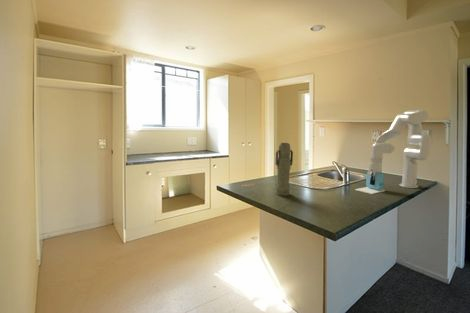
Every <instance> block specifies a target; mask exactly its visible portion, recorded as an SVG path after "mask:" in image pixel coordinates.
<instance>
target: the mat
mask: <svg viewBox="0 0 470 313" xmlns="http://www.w3.org/2000/svg"><path fill="white" fill-rule="evenodd" d="M354 191H357V192H361V193H366V194H369V195H375V194H379V193H384V192H386V190H385V189H381V190H376V189H373V188H370V187H367V186H364V187H359V188H354Z"/></svg>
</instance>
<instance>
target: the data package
mask: <svg viewBox="0 0 470 313" xmlns="http://www.w3.org/2000/svg"><path fill="white" fill-rule="evenodd" d="M373 177H374V176H373ZM365 180H366V181H365V187H370V188H373V189H376V190H381V189H382V190H384V185H385V184H384V182H385V173H376V176H375V179H374V180H375V185H370V177H369V170H368V171H367V172H366V179H365Z"/></svg>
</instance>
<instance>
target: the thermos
mask: <svg viewBox="0 0 470 313" xmlns="http://www.w3.org/2000/svg"><path fill="white" fill-rule="evenodd" d="M293 160H294V151H293V150H292V149H291V145H290V143H288V142H281V143H279V146H278V150H276V151H275V165H276V169H277V178H276V180H277V181H276V184H275V186H276V187H275V188H276V189H275V190H276V193H275V194H276V195H277V196H282V197H286V196H287V197H288V196H290V188H291V185H290V170H291V166H292V165H293V162H294V161H293Z"/></svg>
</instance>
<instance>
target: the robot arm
mask: <svg viewBox="0 0 470 313" xmlns="http://www.w3.org/2000/svg"><path fill="white" fill-rule="evenodd" d="M428 118H429V112H428V111H427V110H425V109H413V110H412V109H410V110H406V111H403V112H401V113H398V114H397V115H396V116H395V118H394V120H393V121H392V123H391V125H390V126H389V128H388V129H387V130H386V131H384V132H383V133H382V134H380V135H379V136H378V137H377V138H376V141H375V142H374V143H373V144H371V152H370V154H371V155H370V163H369V167H368V171H369V177H370V185H375V180H374V179H375V176H376V173H382V171H383V164H382V163H383V158H384V157H383V156H384V154H387V155H389V154H392V153H393V152H394V151H395V146H394V144H392V143H387V141H389V140H390V139H393V138H396V137H398V136H400V135H401V134H402V132H403V130H404V128H405V126H408V134H407V140H406V141H407V144H408V145H411V146H407V147H405V148H404V149H403V165H402V166H403V169H402V175H401V176H402V177H401V178H402V179H401V182H400V183H399V184H398V185H399V186H400V187H402V188H406V189H407V188H408V189H409V188H411V189H418V188H419V185H417V183H418V181H417V179H418V169H419V163H418V161H426V160H427V161H428V159H429V157H430V155H431V147H432V142H433V141H432V136H431V135H430V134H429V133H424V132H422V131H423V130H422V129H423V126H422V123H423V122H426V121H427V120H428ZM373 176H374V177H373Z"/></svg>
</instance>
